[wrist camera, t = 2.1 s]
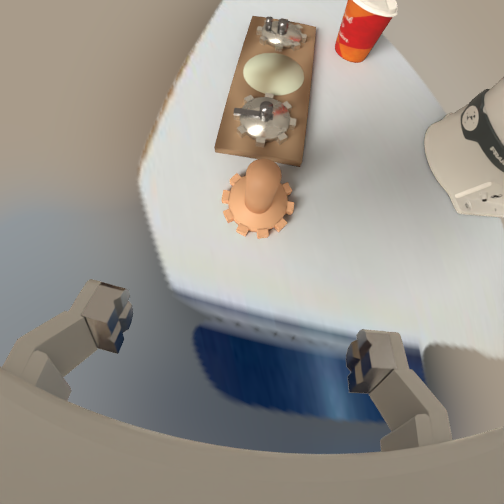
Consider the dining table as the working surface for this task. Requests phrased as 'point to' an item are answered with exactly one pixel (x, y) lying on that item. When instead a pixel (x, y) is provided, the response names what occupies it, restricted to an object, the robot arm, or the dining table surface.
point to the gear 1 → (281, 34)
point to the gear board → (274, 82)
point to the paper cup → (363, 27)
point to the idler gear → (258, 199)
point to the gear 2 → (264, 119)
